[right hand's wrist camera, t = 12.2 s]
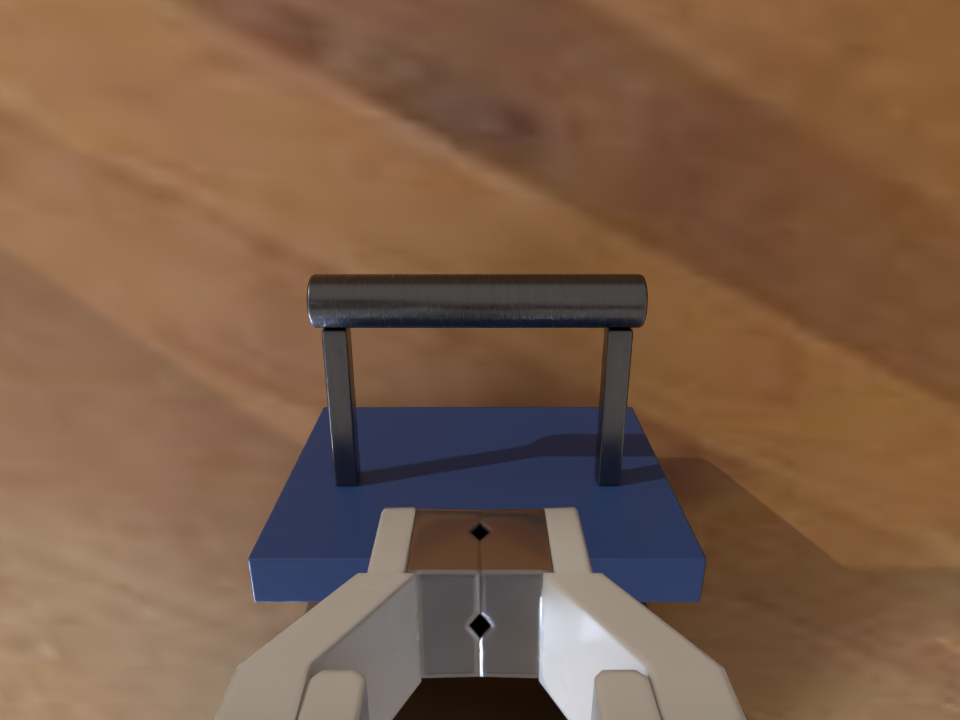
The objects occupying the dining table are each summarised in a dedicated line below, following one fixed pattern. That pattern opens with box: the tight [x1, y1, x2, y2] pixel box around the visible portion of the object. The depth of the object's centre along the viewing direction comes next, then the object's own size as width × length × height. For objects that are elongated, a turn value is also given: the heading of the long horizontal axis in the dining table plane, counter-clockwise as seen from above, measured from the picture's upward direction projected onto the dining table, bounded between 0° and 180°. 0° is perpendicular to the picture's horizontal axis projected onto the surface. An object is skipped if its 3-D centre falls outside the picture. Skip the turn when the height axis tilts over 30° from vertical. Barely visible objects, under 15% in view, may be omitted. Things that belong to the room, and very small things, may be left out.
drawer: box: [248, 274, 706, 720], centre depth 21 cm, size 24×10×8 cm, turn 0°
